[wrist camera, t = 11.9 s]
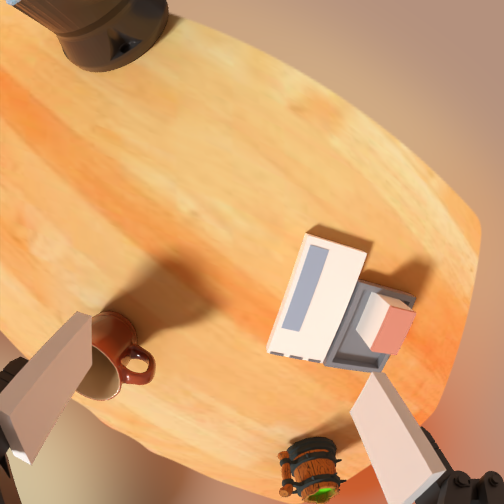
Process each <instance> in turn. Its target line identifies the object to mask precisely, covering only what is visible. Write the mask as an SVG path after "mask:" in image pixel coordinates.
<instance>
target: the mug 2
mask: <svg viewBox="0 0 504 504" xmlns="http://www.w3.org/2000/svg"><path fill="white" fill-rule="evenodd" d="M335 454H336V446H335V444H334V443H333V441H332V440H330V439H328V438H324V437H313V438H306V439H304V440H301V441H299V442H296V443H295V444H293V445H292V446H290V447H289V448H288V449H287V451H283V452H280V453H279V454H278V458H279V459H280V465H281V466H282V478H283V481H282V486H283V487H282V488H281V489H280V491H279V494H280V495H281V496H282V497H288V496H290V495H291V494H296V493H298V495H299V496H300V497H302V500H304V501H305V502H308V503H316V504H325V503H327V502H329V499H331V498H333V497H334V496H335V495H337V494H339V490H340V489H339V487H340V483H343V482H346V480H340V478H339V477H338V476H337V475H336V474H337V472H336V469H335V467H336V463H337V462H340V461H342V459H336V457H335ZM291 473H292V476H294V477H295V479H296V482H294V480H293V479H291ZM293 487H296V489H297V490H295V491H293Z"/></svg>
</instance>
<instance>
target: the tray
mask: <svg viewBox="0 0 504 504" xmlns="http://www.w3.org/2000/svg"><path fill="white" fill-rule="evenodd" d="M371 292H374V293H377V294H381V295H385V296H389V297H392V298H396V299H400V300H401V301H402V302H403V303H404V304H406V305H407V306H408V307H409V308H411V309H412V307H413V305H414V303H415V300H416V297H414V296H413V295H412V294H410V293H407V292H403V291H399V290H396V289H392V288H389V287H385V286H382V285H378V284H375V283H371V282H367V281H364V280H360V279H358V280H357V283H356V285H355V288H354V291H353V293H352V296H351V298H350V301H349V303H348V306H347V308H346V311H345V313H344V315H343V318H342V320H341V323H340V325H339V327H338V330H337V332H336V334H335V337H334V339H333V341H332V343H331V346H330V348H329V350H328V352H327V354H326V357H325V359H324V361H323V364H324V366H328V367H334V368H341V369H348V370H355V371H363V372H371V373H372V372H381V371H382V369H383V368H384V366H385V364H386V362H387V360H388V358H389V356H390V354H385V353H379V352H372V351H371V350H370V348H369V347H368V346H367V344H366V343H365V341H364V340H363V339H362V337H361V336H360V335H359V333H358V332H357V331H356V328H357V325H358V323H359V321H360V318H361V316H362V314H363V311H364V309H365V307H366V304H367V302H368V299H369V297H370V294H371Z"/></svg>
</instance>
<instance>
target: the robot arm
mask: <svg viewBox="0 0 504 504" xmlns="http://www.w3.org/2000/svg"><path fill="white" fill-rule="evenodd" d="M6 3H7V4H9V5H12V6H13V7H15V8H16V9H18V10H20V11H21V12H23V13H24V14H26V15H28V16H29V17H31V18H32V19H34V20H35V21H37V22H39V23H40V24H42V25H43V26H45V27H46V28H48V29H49V30H51V31H52V32H54V33H55V34H56V35H57V37H58V40H59V42H60V44H61V46H62V49H63V51H64V54H65V56H66V57H67V58H68V59H69V60H70V61H71V62H72V63H73V64H75V65H76V66H78V67H79V68H81V69H83V70H86V71H90V72H106V71H111V70H114V69H117V68H120V67H122V66H125V65H127V64H129V63H130V62H132V61H134V60H135V59H137V58H138V57H140V56H141V55H142V54H144V53H145V52H146V51H147V50H148V49H149V48H150V47H151V46H152V45H153V44H154V43H155V42H156V41H157V39H158V38H159V37H160V35H161V33H162V32H163V30H164V28H165V26H166V23H167V19H168V4H167V2H166V0H6ZM91 366H92V316H89V315H86V314H83V313H80V312H76V313H75V314H74V315H73V316H72V317H71V318H70V319H69V320H68V321H67V322H66V323H65V324H64V325H63V326H62V327H61V328H60V329H59V330H58V331H57V332H56V333H55V334H54V335H53V336H52V337H51V338H50V339H49V340H48V341H47V342H46V343H45V344H44V345H43V346H42V347H41V349H40V350H39V351H38V352H37V353H36V354H35V355H34V356H33V357H32V358H31V359H30V360H27V359H24V358H22V357H19V358H17V359H15V360H13V361H11V362H9V364H8V365H7V366H6V367H5V368H4V369H3V371H1V372H0V504H22V503H21V501H20V498H19V494H18V492H17V488H16V486H15V482H14V479H13V475H12V472H11V469H10V464H9V460H8V457H7V455H6V452H7V450H8V449H9V447H10V448H11V450H12V452H13V454H14V456H16V457H18V458H19V459H21V460H23V461H25V462H26V463H28V464H30V465H32V463H33V462H34V460H35V458H36V456H37V454H38V452H39V451H40V449H41V447H42V445H43V444H44V442H45V440H46V438H47V437H48V435H49V433H50V431H51V430H52V428H53V426H54V425H55V423H56V421H57V420H58V418H59V416H60V415H61V413H62V411H63V410H64V408H65V406H66V405H67V403H68V402H69V400H70V398H71V397H72V395H73V394H74V392H75V391H76V389H77V387H78V386H79V384H80V383H81V381H82V380H83V378H84V376H85V375H86V373H87V372H88V370H89V369H90V367H91ZM350 414H351V416H352V418H353V421H354V423H355V425H356V428H357V430H358V432H359V435H360V437H361V439H362V442H363V444H364V447H365V449H366V451H367V454H368V456H369V458H370V461H371V463H372V466H373V468H374V470H375V473H376V475H377V478H378V480H379V482H380V485H381V487H382V490H383V492H384V495H385V497H386V500H387V502H388V504H412V503H413V502H414V501H415V503H416V504H504V482H503V479H502V477H501V476H500V475H499V474H498V473H496V472H494V471H488V472H487V473H485V475H484V476H482V477H481V478H480V479H470V477H469V476H468V475H467V474H466V473H464V472H462V471H454V470H453V469H452V467H451V466H450V464H449V463H448V461H447V460H446V458H445V456H444V455H443V453H442V452H441V450H440V449H439V447H438V445H437V444H436V443H435V440H434V439H433V438H432V436H431V434H430V433H429V432H428V431H426V430H425V429H424V428H423V427H420V426H419V425H418V423H417V422H416V420H415V418H414V417H413V415H412V414H411V412H410V411H409V409H408V408H407V406H406V404H405V403H404V401H403V400H402V398H401V397H400V395H399V394H398V392H397V391H396V389H395V388H394V386H393V385H392V383H391V382H390V380H389V379H388V377H387V376H386V374H385V373H383V372H372V373H371V375H370V377H369V379H368V381H367V382H366V384H365V386H364V388H363V390H362V392H361V393H360V395H359V397H358V399H357V400H356V402H355V404H354V406H353V407H352V409H351V411H350Z"/></svg>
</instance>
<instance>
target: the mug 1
mask: <svg viewBox="0 0 504 504" xmlns="http://www.w3.org/2000/svg"><path fill="white" fill-rule="evenodd" d="M136 344H137V334H136V330H135V328H134V327H133V325H132V324H131V322H130V321H129V320H128V319H127V318H125V317H124V316H123V315H121V314H119V313H117V312H113V311H105V312H101V313H99V314H97V315H96V316H94V317H92V366H91V367H90V369H89V370H88V372H87V373H86V375H85V376H84V378H83V380H82V381H81V383H80V384H79V386H78V387H77V389H76V392H78V393H79V394H81V395H83V396H85V397H87V398H90V399H93V400H100V401H103V400H109V399H112V398H113V397H115V396H116V395H117V394H118V393H119V392H120V390H121V385H122V384H123V383H126V384H136V385H144V384H148V383H149V382H151V381H152V379H153V377H154V375H155V370H156V364H155V360H154V357H153V356H152V355H151V354H150V353H149V352H148V351H146V350H145V349H143V348H142V347H140V346H139V345H136ZM131 359H140V360H143V361H145V362H146V363H147V364H148V369H147V371H145V372H143V373H136V372H133V371H130V370H129V369H127V368H126V366H127V364H128V363H129V361H130V360H131Z"/></svg>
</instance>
